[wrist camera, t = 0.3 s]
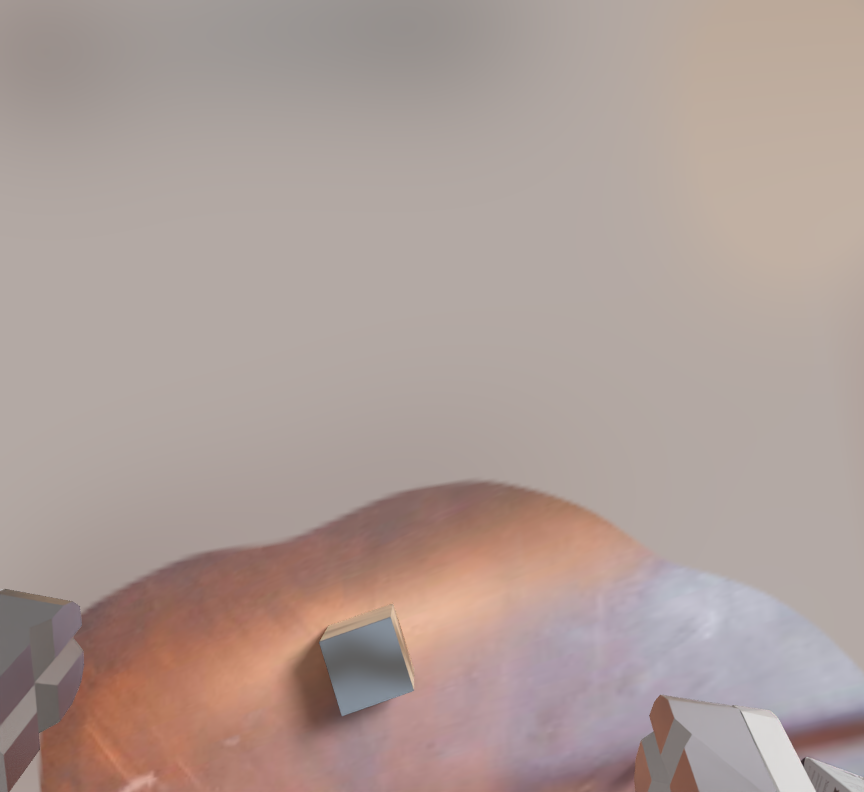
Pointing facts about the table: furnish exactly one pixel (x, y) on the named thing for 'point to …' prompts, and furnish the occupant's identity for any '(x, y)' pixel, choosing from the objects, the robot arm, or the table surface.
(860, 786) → the skincare box
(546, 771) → the table surface
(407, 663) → the maple cube
